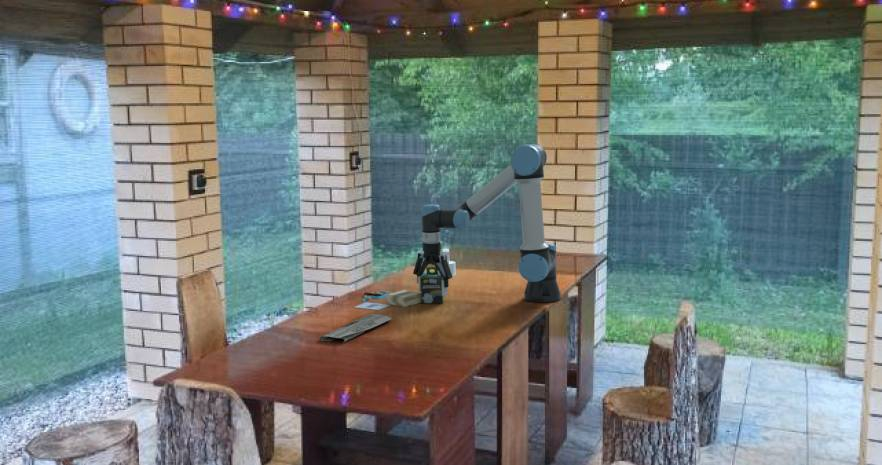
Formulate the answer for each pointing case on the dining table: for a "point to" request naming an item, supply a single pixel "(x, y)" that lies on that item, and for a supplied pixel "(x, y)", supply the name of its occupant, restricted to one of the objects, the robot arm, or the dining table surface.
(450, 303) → the dining table surface
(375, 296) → the gear mechanism
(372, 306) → the blueprint sheet
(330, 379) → the dining table surface
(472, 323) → the dining table surface
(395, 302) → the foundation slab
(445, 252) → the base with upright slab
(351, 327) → the newspaper
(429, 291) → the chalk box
